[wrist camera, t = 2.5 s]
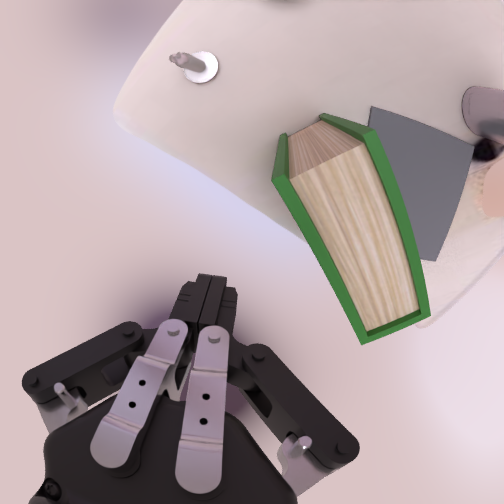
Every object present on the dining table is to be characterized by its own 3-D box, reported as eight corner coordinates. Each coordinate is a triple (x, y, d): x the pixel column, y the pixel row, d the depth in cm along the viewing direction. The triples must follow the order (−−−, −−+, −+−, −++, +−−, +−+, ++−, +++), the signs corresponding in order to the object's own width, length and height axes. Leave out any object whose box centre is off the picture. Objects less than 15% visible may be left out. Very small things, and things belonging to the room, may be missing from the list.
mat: (472, 145, 33) (474, 146, 33) (434, 259, 46) (435, 261, 45) (371, 106, 33) (372, 106, 33) (338, 245, 46) (339, 247, 45)
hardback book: (279, 135, 37) (271, 180, 17) (324, 113, 35) (375, 129, 14) (332, 230, 44) (361, 345, 24) (372, 212, 41) (430, 315, 21)
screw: (181, 74, 33) (200, 48, 31) (208, 89, 34) (227, 63, 32) (144, 66, 22) (168, 29, 20) (179, 85, 23) (206, 47, 21)
